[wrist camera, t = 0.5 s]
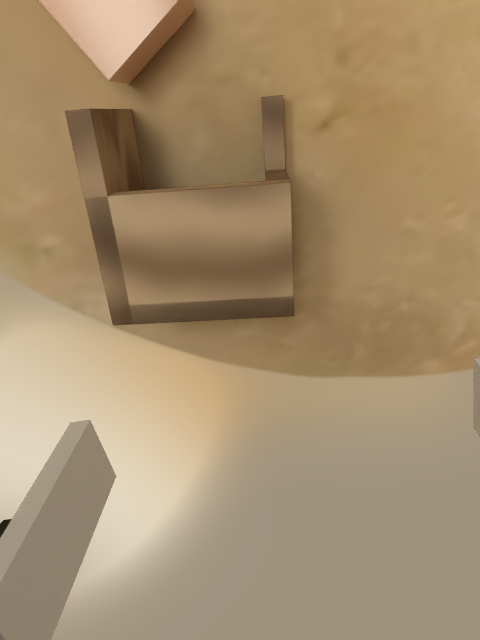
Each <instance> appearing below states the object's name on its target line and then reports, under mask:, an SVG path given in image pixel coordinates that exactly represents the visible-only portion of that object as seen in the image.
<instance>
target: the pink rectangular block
mask: <svg viewBox="0 0 480 640" xmlns="http://www.w3.org/2000/svg"><path fill="white" fill-rule="evenodd" d="M39 1H40V2H41V4H42V5H43V6H44V7H45V8H46V9H47V10H48V12H49V13H50V14H51V15H52V16H53V17H54V18H55V20H56V21H57V22H58V23H59V24H60V25H61V26H62V28H63V29H64V30H65V31H66V32H67V33H68V34H69V36H70V37H71V38H72V39H73V40H74V41H75V42H76V44H77V45H78V46H79V47H80V48H81V49H82V50H83V52H84V53H85V54H86V55H87V56H88V57H89V58H90V60H91V61H92V62H93V63H94V64H95V65H96V66H97V67H98V69H99V70H100V71H101V72H102V73H103V74H104V75H105V77H106V78H107V79H108V80H110V81H115V82H120V83H125V84H130V82H131V81H132V80H133V79H134V78H135V77H136V76H137V75H138V73H139V72H140V71H141V70H142V69H143V68H144V67H145V66H146V65H147V63H148V62H149V61H150V60H151V59H152V58H153V57H154V56H155V54H156V53H157V52H158V51H159V50H160V49H161V48H162V47H163V46H164V44H165V43H166V42H167V41H168V40H169V39H170V38H171V37H172V35H173V34H174V33H175V32H176V31H177V30H178V29H179V28H180V27H181V25H182V24H183V23H184V22H185V21H186V20H187V19H188V18H189V16H190V15H191V14H192V13H193V12H194V11H195V10H196V9H195V8H194V6H193V5H192V3H191V2H190V0H39Z"/></svg>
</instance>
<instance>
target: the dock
mask: <svg viewBox="0 0 480 640" xmlns="http://www.w3.org/2000/svg"><path fill="white" fill-rule="evenodd" d="M65 114H66V118H67V123H68V127H69V132H70V136H71V140H72V145H73V149H74V154H75V158H76V163H77V167H78V172H79V176H80V181H81V185H82V189H83V194H84V198H85V203H86V207H87V212H88V216H89V221H90V225H91V230H92V234H93V238H94V243H95V247H96V252H97V256H98V261H99V265H100V270H101V274H102V279H103V283H104V287H105V292H106V296H107V301H108V305H109V310H110V314H111V319H112V323H113V325H129V324H149V323H169V322H188V321H208V320H228V319H248V318H268V317H287V316H294V294H293V258H292V223H291V188H290V181H289V178H288V175H287V173H286V170H285V148H284V117H283V95H279V96H267V97H262V115H263V135H264V154H265V175H266V181H261V182H248V183H234V184H221V185H207V186H194V187H180V188H167V189H154V190H145V187H144V181H143V175H142V169H141V163H140V157H139V151H138V145H137V139H136V133H135V127H134V121H133V115H132V109H81V110H70V111H65Z"/></svg>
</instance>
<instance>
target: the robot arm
mask: <svg viewBox="0 0 480 640" xmlns="http://www.w3.org/2000/svg"><path fill="white" fill-rule="evenodd" d="M474 428H475V430H476V431H477V433H478V434H479V436H480V358H477V359H474ZM115 478H116V475H115V473H114V470H113V468H112V466H111V464H110V462H109V460H108V457H107V455H106V453H105V451H104V449H103V447H102V445H101V442H100V440H99V438H98V436H97V434H96V432H95V430H94V427H93V425H92V423H91V421H90V420H86V421H79V422H73V423H70V424H69V426H68V428H67V429H66V431H65V433H64V434H63V436H62V438H61V439H60V441H59V443H58V444H57V446H56V448H55V449H54V451H53V453H52V454H51V456H50V457H49V459H48V461H47V462H46V464H45V466H44V467H43V469H42V470H41V472H40V474H39V475H38V477H37V479H36V480H35V482H34V484H33V485H32V487H31V489H30V490H29V492H28V493H27V495H26V497H25V498H24V500H23V502H22V503H21V505H20V507H19V509H18V510H17V512H16V513H15V515H14V516H13V518H12V519H8V520H3V521H2V522H1V523H0V640H51V639H52V636H53V634H54V631H55V628H56V626H57V624H58V621H59V619H60V616H61V614H62V611H63V609H64V606H65V603H66V601H67V598H68V595H69V593H70V591H71V588H72V586H73V583H74V581H75V578H76V576H77V573H78V571H79V568H80V566H81V563H82V561H83V558H84V556H85V553H86V551H87V548H88V546H89V543H90V541H91V538H92V536H93V533H94V531H95V528H96V525H97V523H98V520H99V518H100V515H101V513H102V510H103V508H104V505H105V503H106V500H107V498H108V495H109V493H110V490H111V488H112V485H113V483H114V480H115Z"/></svg>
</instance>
